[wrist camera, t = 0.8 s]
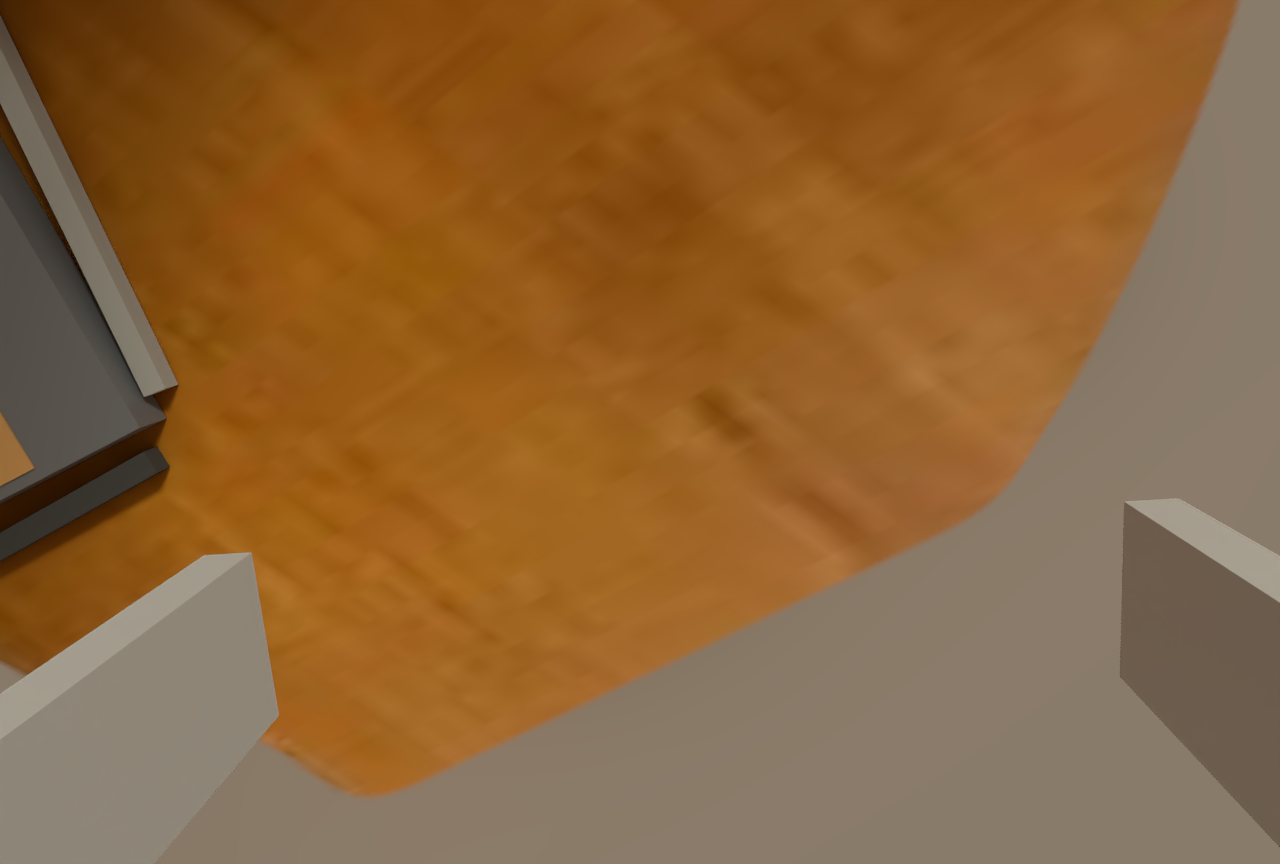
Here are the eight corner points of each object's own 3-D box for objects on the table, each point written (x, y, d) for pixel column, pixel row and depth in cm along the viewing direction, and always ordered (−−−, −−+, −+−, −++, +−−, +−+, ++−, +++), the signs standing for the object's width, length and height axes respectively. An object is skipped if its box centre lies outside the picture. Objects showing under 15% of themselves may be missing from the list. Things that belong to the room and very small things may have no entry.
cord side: (-30, 551, 42) (-47, 559, 41) (156, 446, 41) (143, 451, 40) (-16, 570, 42) (-33, 578, 42) (169, 466, 41) (157, 472, 40)
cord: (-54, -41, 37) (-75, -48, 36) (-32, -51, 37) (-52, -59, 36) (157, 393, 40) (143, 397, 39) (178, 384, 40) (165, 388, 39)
